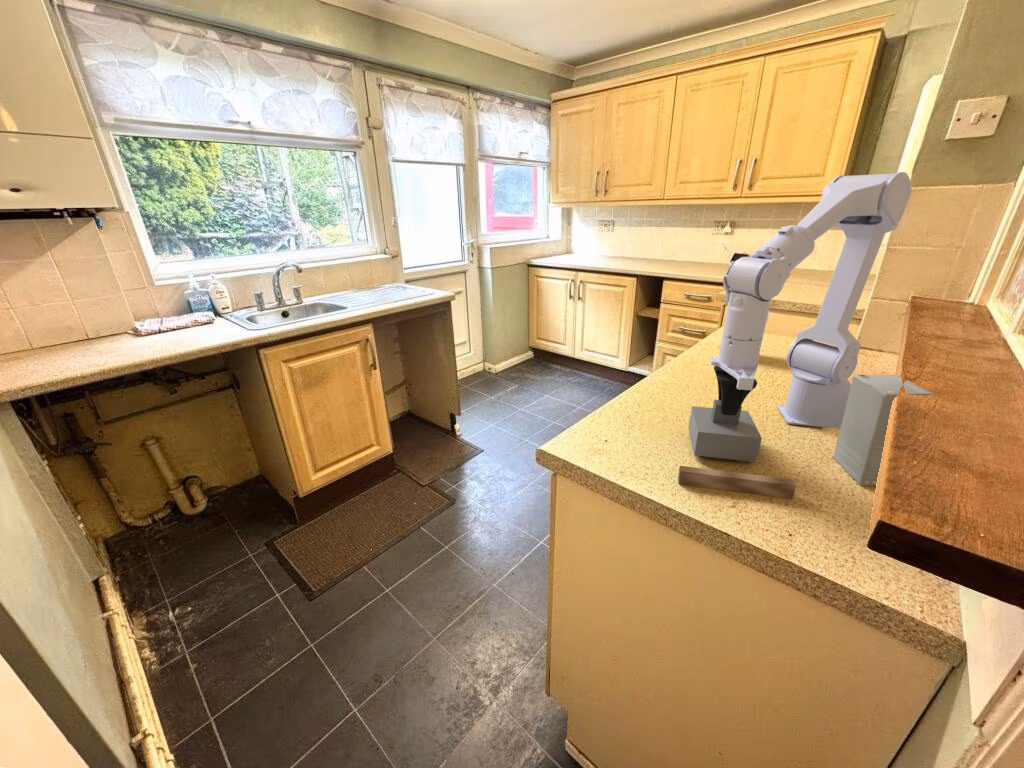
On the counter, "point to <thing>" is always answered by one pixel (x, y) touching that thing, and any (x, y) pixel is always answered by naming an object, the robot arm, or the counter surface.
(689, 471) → the stopper
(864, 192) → the robot arm
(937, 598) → the counter surface
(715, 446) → the grey stemmed block
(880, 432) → the skincare box
